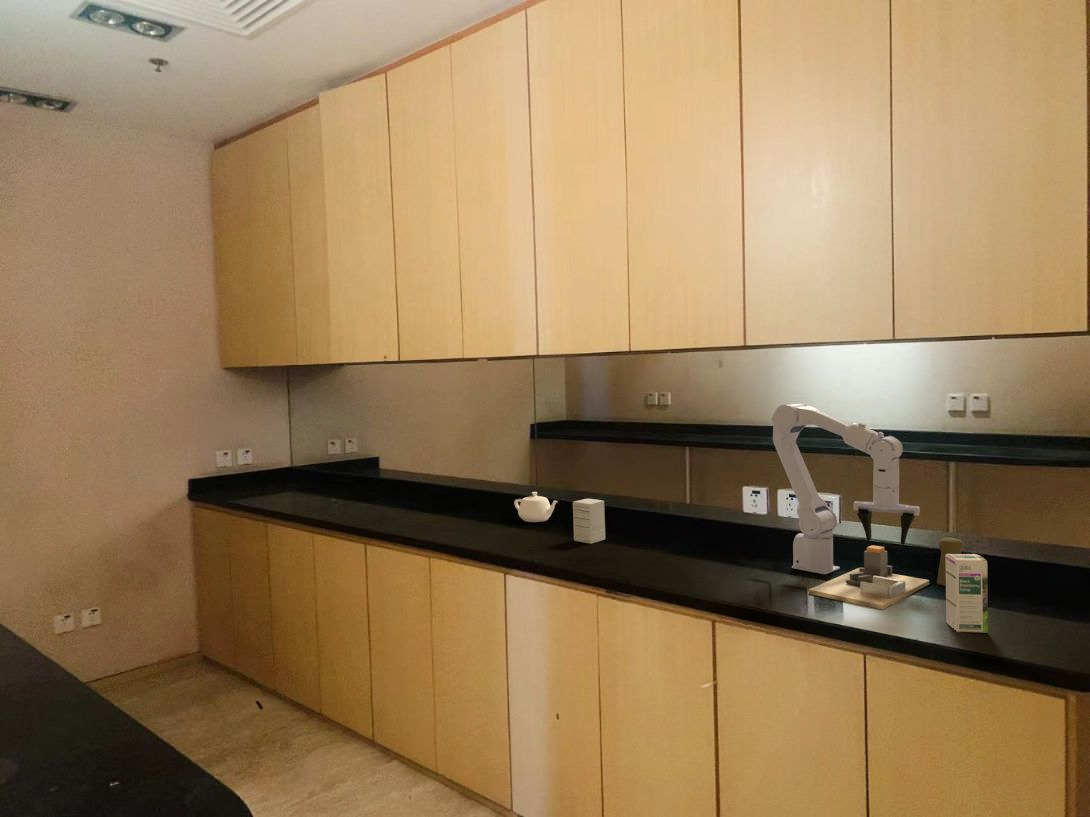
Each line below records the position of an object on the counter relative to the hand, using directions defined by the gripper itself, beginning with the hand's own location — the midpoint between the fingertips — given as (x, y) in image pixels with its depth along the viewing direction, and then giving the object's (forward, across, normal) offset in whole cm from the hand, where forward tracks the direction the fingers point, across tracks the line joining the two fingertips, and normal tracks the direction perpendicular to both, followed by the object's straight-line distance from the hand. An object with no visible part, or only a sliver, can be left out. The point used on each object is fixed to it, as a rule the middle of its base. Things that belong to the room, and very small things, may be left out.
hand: (885, 541), depth 179 cm
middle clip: (+9, -4, -8) cm, 12 cm away
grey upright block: (+9, -2, +1) cm, 9 cm away
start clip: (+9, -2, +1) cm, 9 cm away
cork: (+10, +14, +5) cm, 18 cm away
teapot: (+11, -122, +23) cm, 125 cm away
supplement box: (+11, -87, +4) cm, 88 cm away
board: (+10, -2, -9) cm, 13 cm away
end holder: (+9, +2, -14) cm, 16 cm away
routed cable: (+9, -2, -8) cm, 12 cm away
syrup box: (+10, +20, -27) cm, 35 cm away
